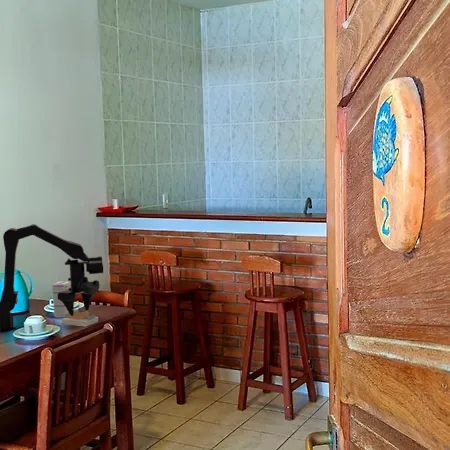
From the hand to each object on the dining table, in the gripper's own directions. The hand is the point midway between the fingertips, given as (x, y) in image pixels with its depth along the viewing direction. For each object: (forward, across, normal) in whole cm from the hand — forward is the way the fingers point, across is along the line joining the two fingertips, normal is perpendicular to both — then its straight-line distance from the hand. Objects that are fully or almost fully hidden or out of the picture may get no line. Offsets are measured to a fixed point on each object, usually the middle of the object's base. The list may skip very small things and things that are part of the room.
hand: (79, 313), depth 252 cm
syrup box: (+4, +7, +15) cm, 17 cm away
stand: (+4, 0, 0) cm, 4 cm away
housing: (+2, 0, +1) cm, 2 cm away
